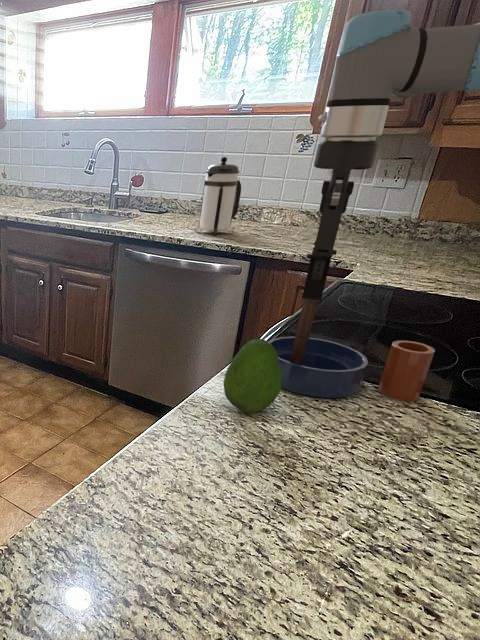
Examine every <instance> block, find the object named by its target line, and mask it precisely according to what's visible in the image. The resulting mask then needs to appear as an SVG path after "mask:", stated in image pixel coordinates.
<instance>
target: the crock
mask: <svg viewBox="0 0 480 640" xmlns="http://www.w3.org/2000/svg"><path fill="white" fill-rule="evenodd" d="M435 352H436V349H435V348H434V347H433V346H430V345H427V344H425V343H422V342H417V341H411V340H394V341H392V343H391V346H390V348H389V352H388V355H387V359H386V362H385V364H384V368H383V370H382V371H383V372H382V375H381V378H380V381H379V384H378V387H377V391H378V392H379V394H381V395H383V396H384V397H386V398H389V399H392V400H395V401H400V402H417V401H419V399H420V395H421V393H422V389H423V387H424V384H425V381H426V378H427V376H428V372H429V370H430V367H431V364H432V361H433V358H434V355H435Z"/></svg>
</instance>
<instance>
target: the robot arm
mask: <svg viewBox="0 0 480 640" xmlns="http://www.w3.org/2000/svg"><path fill="white" fill-rule="evenodd" d="M411 21H412V13H411V12H410V11H409V10H406V9H385V10H384V9H383V10H375V11H369V12H363V13H360V14H357V15H355V16H353V17H352V18H350V19H349V20H348V21H347V22H346V24H345V25H344V27H343V31H342V35H341V39H340V42H339V46H338V49H337V53H336V54H335V63H334V67H333V73H332V77H331V83H330V88H329V92H328V96H327V97H328V98H327V102H326V108H325V113H326V114H320V116H319V117H318V122H319V123H323V124H322V126H321V130H320V134H319V135H320V136H321V138H323V139H324V140H323V141H320V142H319V143H317V147H316V152H315V155H314V161H313V167H315V169H322V170H332V171H331V177H330V179H329V180H323V183H322V187H321V191H320V192H321V200H320V204H319V209H318V211H319V213H320V214H321V217H320V220H319V221H320V222H319V225H318V230H317V234H316V239H315V241H314V243H313V246H314V247H312V251H311V253H307V254H306V259H310V261H309V265H308V269H307V273H306V274H307V275H306V278H305V283H304V287H303V291H302V296H301V299H304V298H305V299H313V300H318V301H322V297H323V294H324V290H325V286H326V282H327V278H328V273H329V269H330V267H331V266H330V265H331V261H332V258H333V255H334V256H335V255H337V251H338V249H334V247H335V244H336V239H337V234H338V231H339V226H340V223H341V218H342V215H343V214H345V213H346V212H347V207H348V204H349V199H350V197H351V195H352V194H353V191H354V188H355V187H354V186H355V181H349V180H350V176H351V172H352V170H359V171H360V170H368V169H371V168H373V166H374V165H375V160H376V157H377V152H378V149H379V145H380V144H379V143H378V141H376V139H377V137H380V136H382V135H383V131H384V128H385V123H386V119H387V115H388V112H389V107H390V103H391V98H392V96H393V97H396V98H397V97H398V98H400V99H406V98H410V97H414V96H418V95H427V94H434V93H435V94H436V93H442V92H443V93H444V92H458V91H459V92H461V91H464V92H470V91H478V90H479V91H480V22H478V23H474V24H467V25H466V24H464V25H451V26H437V27H426V28H425V27H424V28H423V27H412V23H411Z"/></svg>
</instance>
